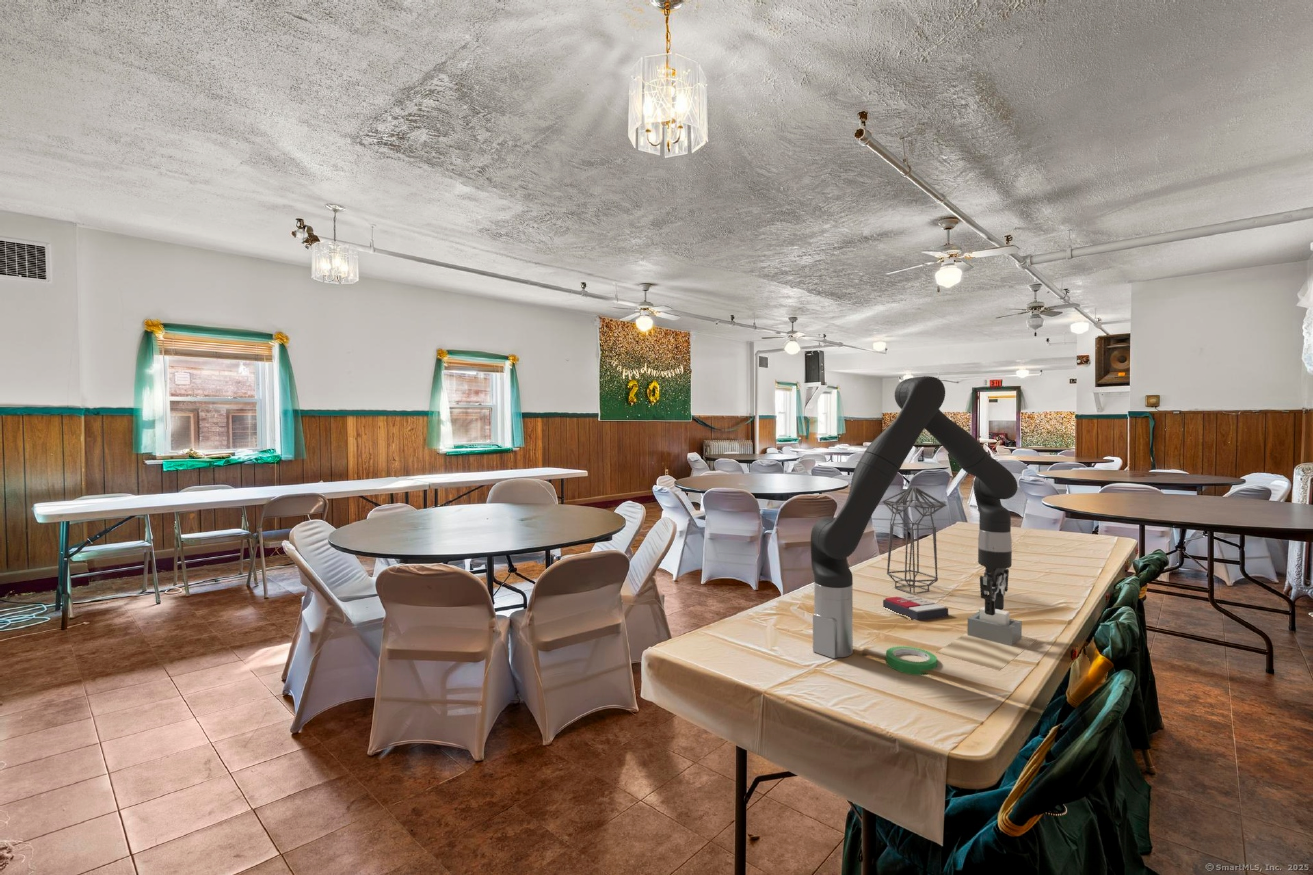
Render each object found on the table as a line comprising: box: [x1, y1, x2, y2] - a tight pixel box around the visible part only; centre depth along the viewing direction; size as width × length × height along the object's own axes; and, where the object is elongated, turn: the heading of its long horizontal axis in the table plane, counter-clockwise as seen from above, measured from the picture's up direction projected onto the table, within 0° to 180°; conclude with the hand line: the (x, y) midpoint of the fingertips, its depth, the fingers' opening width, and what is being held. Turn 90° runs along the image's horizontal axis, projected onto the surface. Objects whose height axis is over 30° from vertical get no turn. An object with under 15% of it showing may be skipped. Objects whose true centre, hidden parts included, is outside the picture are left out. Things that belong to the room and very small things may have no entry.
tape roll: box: [885, 645, 938, 676], centre depth 137 cm, size 11×11×3 cm
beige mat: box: [935, 632, 1037, 672], centre depth 145 cm, size 27×14×1 cm, turn 131°
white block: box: [978, 605, 1010, 626], centre depth 151 cm, size 3×6×6 cm, turn 42°
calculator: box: [882, 594, 949, 622], centre depth 173 cm, size 11×4×15 cm
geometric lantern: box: [881, 486, 947, 594], centre depth 196 cm, size 16×16×35 cm
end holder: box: [966, 611, 1023, 646], centre depth 151 cm, size 7×10×4 cm
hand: (994, 611), depth 151 cm, fingers open, 5 cm apart
